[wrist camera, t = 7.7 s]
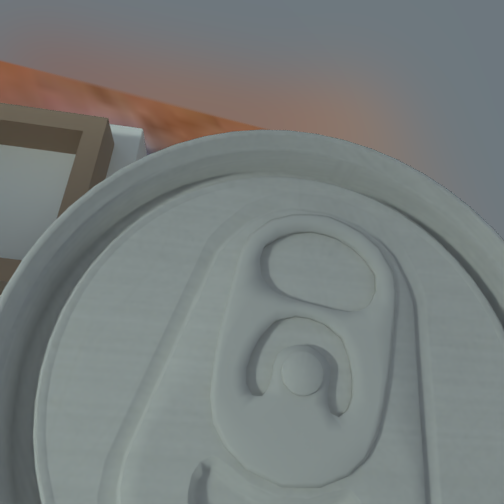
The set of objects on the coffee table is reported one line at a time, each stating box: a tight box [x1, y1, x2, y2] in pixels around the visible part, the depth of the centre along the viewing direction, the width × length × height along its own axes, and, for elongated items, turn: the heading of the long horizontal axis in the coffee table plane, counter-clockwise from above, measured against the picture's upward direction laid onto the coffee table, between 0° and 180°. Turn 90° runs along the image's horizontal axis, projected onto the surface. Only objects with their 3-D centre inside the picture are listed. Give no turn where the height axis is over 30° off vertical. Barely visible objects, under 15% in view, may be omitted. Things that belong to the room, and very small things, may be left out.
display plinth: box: [0, 103, 147, 296], centre depth 28 cm, size 14×14×6 cm
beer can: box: [0, 130, 504, 504], centre depth 11 cm, size 6×6×15 cm
